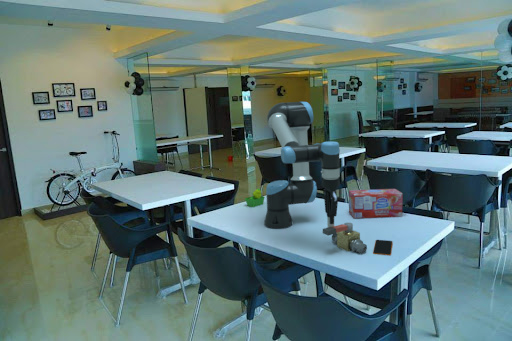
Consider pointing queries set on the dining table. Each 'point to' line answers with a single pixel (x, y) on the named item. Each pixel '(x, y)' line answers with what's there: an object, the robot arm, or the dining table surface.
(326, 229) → the lever
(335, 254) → the dining table surface
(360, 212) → the box
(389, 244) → the smartphone
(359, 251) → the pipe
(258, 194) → the fruit basket
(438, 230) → the dining table surface
